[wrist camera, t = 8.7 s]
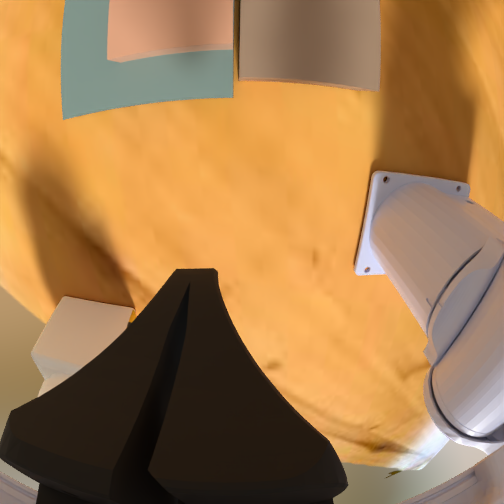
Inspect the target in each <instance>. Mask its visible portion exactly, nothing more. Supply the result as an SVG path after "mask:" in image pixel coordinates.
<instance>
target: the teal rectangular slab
mask: <svg viewBox="0 0 504 504" xmlns="http://www.w3.org/2000/svg"><path fill="white" fill-rule="evenodd" d="M109 2H110V0H65V8H64V17H63V28H62V44H61V94H62V111H63V120H65V119H69V118H73V117H77V116H81V115H85V114H90V113H95V112H99V111H104V110H110V109H115V108H121V107H127V106H134V105H141V104H148V103H156V102H165V101H175V100H187V99H203V98H233V50H209V51H195V52H184V53H175V54H167V55H160V56H153V57H147V58H142V59H136V60H131V61H126V62H121V63H120V62H115V61H110V60H107V37H108V15H109ZM233 49H234V0H233Z"/></svg>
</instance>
